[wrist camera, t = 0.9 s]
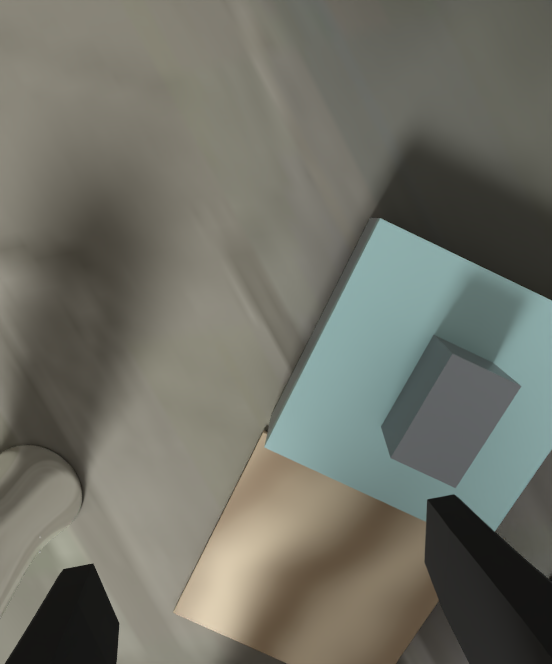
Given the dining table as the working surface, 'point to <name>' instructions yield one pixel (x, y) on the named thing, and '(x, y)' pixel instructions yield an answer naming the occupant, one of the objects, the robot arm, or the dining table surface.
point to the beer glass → (32, 509)
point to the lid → (425, 382)
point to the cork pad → (311, 569)
